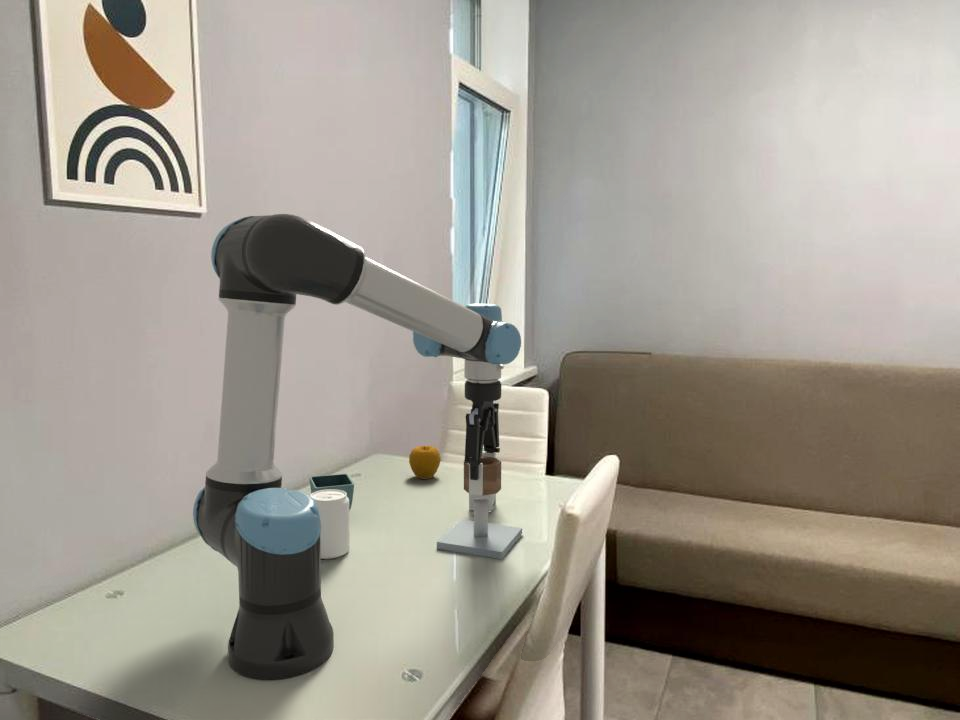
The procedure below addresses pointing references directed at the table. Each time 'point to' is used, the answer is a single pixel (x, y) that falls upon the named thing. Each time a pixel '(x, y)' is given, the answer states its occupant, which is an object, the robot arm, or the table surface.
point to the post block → (480, 535)
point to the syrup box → (490, 497)
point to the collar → (487, 475)
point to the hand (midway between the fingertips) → (482, 488)
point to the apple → (424, 461)
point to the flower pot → (333, 484)
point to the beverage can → (333, 522)
